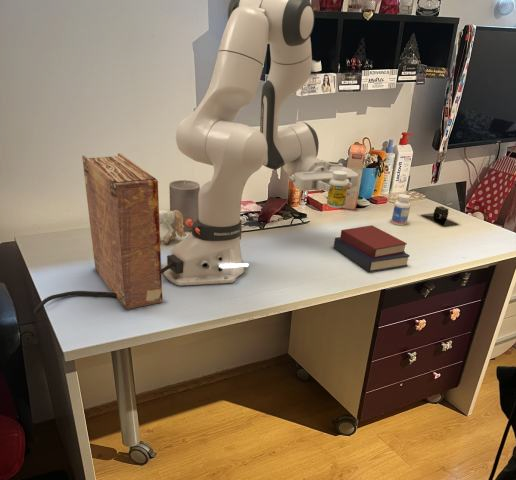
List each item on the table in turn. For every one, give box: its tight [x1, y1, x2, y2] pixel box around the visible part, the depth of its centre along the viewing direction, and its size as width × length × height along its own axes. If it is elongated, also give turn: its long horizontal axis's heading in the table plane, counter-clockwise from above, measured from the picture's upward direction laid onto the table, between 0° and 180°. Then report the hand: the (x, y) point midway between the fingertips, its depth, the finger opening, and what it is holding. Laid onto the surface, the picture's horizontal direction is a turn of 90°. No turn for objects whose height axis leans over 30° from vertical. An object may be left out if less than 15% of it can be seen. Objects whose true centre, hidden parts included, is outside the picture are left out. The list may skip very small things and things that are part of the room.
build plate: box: [420, 205, 459, 228], centre depth 195 cm, size 12×7×5 cm, turn 26°
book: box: [81, 152, 163, 310], centre depth 129 cm, size 25×9×30 cm, turn 31°
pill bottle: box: [391, 193, 411, 226], centre depth 188 cm, size 6×5×10 cm
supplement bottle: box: [326, 171, 348, 209], centre depth 154 cm, size 5×5×10 cm
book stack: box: [333, 224, 411, 273], centre depth 161 cm, size 14×19×6 cm
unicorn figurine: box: [159, 209, 187, 245], centre depth 159 cm, size 7×20×13 cm, turn 117°
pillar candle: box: [168, 179, 201, 232], centre depth 172 cm, size 10×10×15 cm
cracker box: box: [341, 144, 367, 211], centre depth 200 cm, size 14×6×21 cm, turn 168°
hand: (340, 187), depth 153 cm, fingers closed on supplement bottle, 5 cm apart
